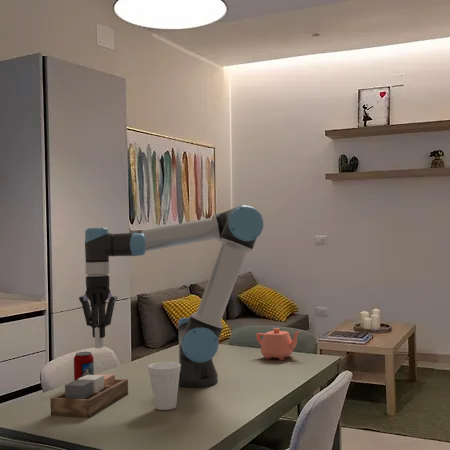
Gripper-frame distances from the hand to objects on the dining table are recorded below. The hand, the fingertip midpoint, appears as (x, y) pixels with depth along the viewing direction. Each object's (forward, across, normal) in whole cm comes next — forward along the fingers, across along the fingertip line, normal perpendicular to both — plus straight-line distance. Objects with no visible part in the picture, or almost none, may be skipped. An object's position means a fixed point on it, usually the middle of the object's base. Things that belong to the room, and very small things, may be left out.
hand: (99, 347), depth 200 cm
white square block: (+12, 0, +7) cm, 14 cm away
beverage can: (+17, +13, -12) cm, 24 cm away
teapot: (+16, -44, -71) cm, 85 cm away
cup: (+17, -26, +6) cm, 31 cm away
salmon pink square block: (+14, 0, -1) cm, 14 cm away
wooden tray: (+17, 0, +6) cm, 18 cm away
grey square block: (+12, -1, +14) cm, 19 cm away
